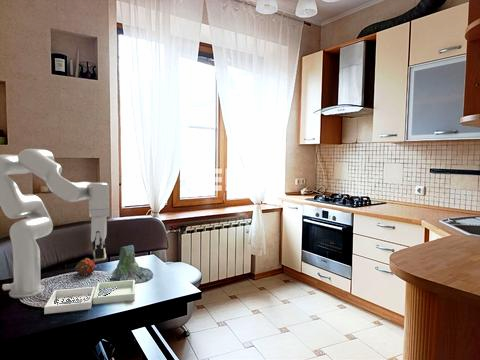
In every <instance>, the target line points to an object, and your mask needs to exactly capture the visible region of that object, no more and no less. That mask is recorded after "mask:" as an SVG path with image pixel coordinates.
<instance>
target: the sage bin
mask: <svg viewBox="0 0 480 360" xmlns="http://www.w3.org/2000/svg"><path fill="white" fill-rule="evenodd" d="M96 284H97V285H96V286H95V287H96V290H95V293H94V297H93V303H92V305H100V304H110V303H117V302H124V303H125V302H126V303H128V302H133V301H135V297H136V296H135V293H136V292H135V291H136V289H135V288H136V284H135V280H126V281H117V280H114V281H107V282H97V283H96ZM110 287H111V288H112V287H118V288H117V289H115V290H114V291H112V292H111V293H110V294H108V295H106V296H98V293H99V289H100V288H110ZM97 296H98V297H97Z"/></svg>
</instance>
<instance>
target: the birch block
mask: <svg viewBox="0 0 480 360" xmlns="http://www.w3.org/2000/svg"><path fill="white" fill-rule="evenodd" d="M92 253H93V261H94V262H100V261H105V260H106V259H107V252H106V247H105V248H104V258H99V259H96V258H95V249H93V251H92Z"/></svg>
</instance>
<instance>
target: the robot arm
mask: <svg viewBox="0 0 480 360" xmlns="http://www.w3.org/2000/svg"><path fill="white" fill-rule="evenodd" d="M62 172H63V167H62V166H61V165H60V164H59V163H57V162H56V161H55V157H54V154H53V153H52V152H51V151H50V150H47V149H43V148H25V149H23V150H21V151H20V152H19V153H18V154H0V207H1V210H2V212H3V213H4V215H5V216H6V217H7V218H9V219H20V220H18V221H16V222H14V223H13V224H12V225H11V226H10V229H9V238H10V240H11V245H12V262H13V267H12V268H13V282H11V283H4V284H2V287H1V288H2V290H3V291H9V292H8V295H9V297H11V298H13V299H23V298H29V297H33V296H36V295H39V294H41V293H43V292H44V291H45V289H46V288H45V285H44V284H42V283H41V249H40V246H39V244H38V242H37V241H36V240H38V239H42V238H43V237H47V236H48V235H50V234H51V232H52V231H53V229H54V223H53V220H52V218H51V216H50V214H49V212H48V210H47V208H46V205H45V204H44V202H43V200H42V199H41V198H40V197H39V196H37V195H35V194H31V193H30V194H22V192H21V190H20V188H19V186H18V184H17V183H16V182H15V181H14V180H13V179H12V178H11V177H9V175H24V174H25V175H26V174H29V173H32V174H34V175H35V176H37V177H39V178H40V179H42V180H43V181H45V183H46V186H47V188H48V189H49V191H50V192H51V193H53V194H54V195H55V196H57V197H59V198H60V199H62V200H64V201H66V202H70V203H74V202H80V201H85V200H88V210H89V211H88V213H89V218H91V222H90V223H91V224H90V241H91V243H93V242H94V250H95V258H96V259H99V258H104V248H105V249H106V243H105V242H106V240H105V239H106V238H107V229H108V226H107V225H108V222H107V217H110V187H109V184H108V183H107V182H91V181H79V182H78V181H77V182H76V181H75V182H72V181H70V180H68V179H66V178H65V177H63V176H62V175H61V174H62ZM25 217H26V218H25ZM21 218H24V219H21Z"/></svg>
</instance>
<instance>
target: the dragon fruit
mask: <svg viewBox="0 0 480 360" xmlns="http://www.w3.org/2000/svg"><path fill="white" fill-rule="evenodd" d="M74 268H75V271H76V272H77V273H78V274H80V275H82V274H83V276H87V275H86V274H88V275H89V274H92V273H94V272H95V268H96V264H95V261H94V259H90V258H89V257H85V258H83V259H82V260H80V261H79V262H78V263H77V264H76V266H75V267H74Z"/></svg>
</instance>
